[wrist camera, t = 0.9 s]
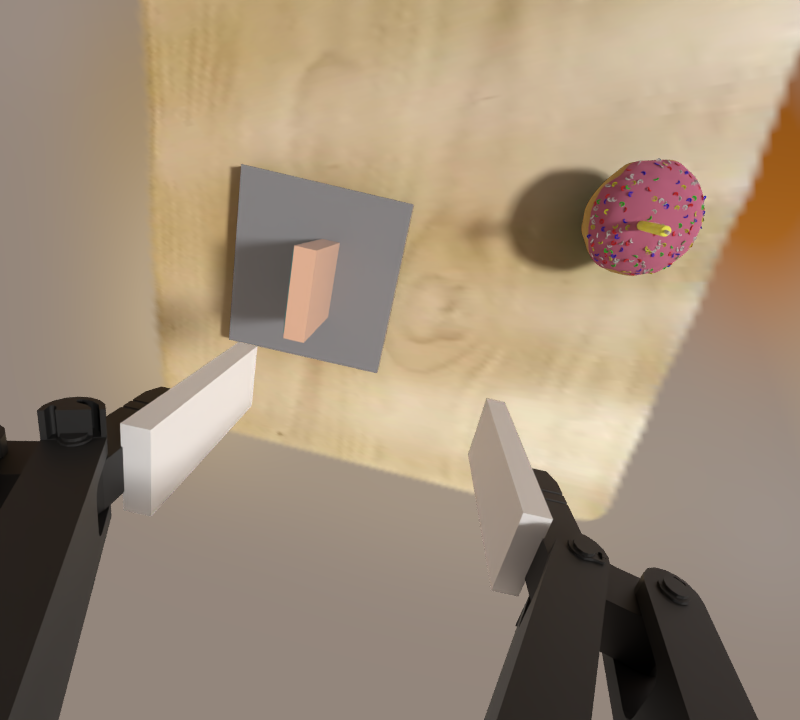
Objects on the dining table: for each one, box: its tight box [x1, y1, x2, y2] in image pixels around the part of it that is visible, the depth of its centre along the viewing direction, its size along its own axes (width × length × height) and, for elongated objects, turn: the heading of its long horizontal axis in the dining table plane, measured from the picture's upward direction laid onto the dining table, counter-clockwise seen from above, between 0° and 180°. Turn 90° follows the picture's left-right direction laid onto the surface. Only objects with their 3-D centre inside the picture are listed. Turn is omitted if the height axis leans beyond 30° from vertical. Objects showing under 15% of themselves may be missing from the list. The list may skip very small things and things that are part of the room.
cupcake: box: [581, 158, 706, 276], centre depth 29 cm, size 9×8×12 cm
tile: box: [283, 239, 340, 343], centre depth 33 cm, size 7×2×8 cm, turn 168°
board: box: [229, 164, 414, 373], centre depth 37 cm, size 16×15×2 cm
